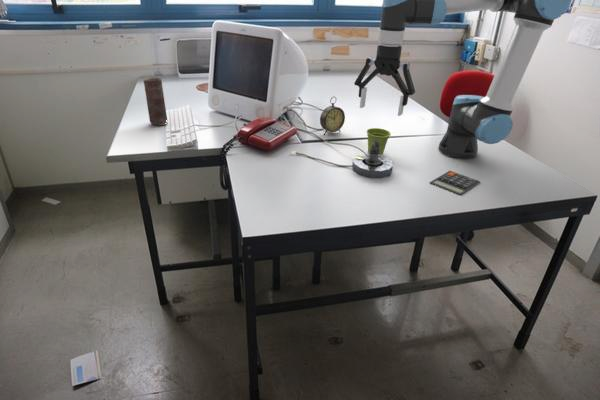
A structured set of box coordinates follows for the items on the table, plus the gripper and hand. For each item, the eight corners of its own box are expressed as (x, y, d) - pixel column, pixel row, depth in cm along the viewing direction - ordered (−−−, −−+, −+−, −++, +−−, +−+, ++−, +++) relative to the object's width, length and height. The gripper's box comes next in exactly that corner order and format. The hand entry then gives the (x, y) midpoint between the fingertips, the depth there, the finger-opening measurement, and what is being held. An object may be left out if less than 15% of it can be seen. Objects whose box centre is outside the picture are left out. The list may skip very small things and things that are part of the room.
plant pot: (390, 151, 165) (394, 131, 160) (382, 159, 158) (385, 138, 153) (369, 146, 169) (371, 126, 164) (360, 153, 162) (362, 133, 157)
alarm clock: (324, 136, 176) (327, 99, 168) (317, 132, 180) (319, 96, 172) (344, 132, 182) (347, 96, 174) (336, 129, 185) (340, 93, 177)
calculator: (480, 181, 144) (461, 194, 134) (480, 183, 144) (460, 196, 135) (450, 170, 151) (429, 181, 141) (449, 172, 151) (428, 184, 142)
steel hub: (396, 168, 151) (398, 160, 150) (382, 182, 141) (384, 173, 139) (361, 158, 157) (362, 151, 156) (346, 171, 147) (346, 163, 145)
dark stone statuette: (378, 166, 152) (383, 136, 146) (381, 173, 146) (386, 142, 141) (362, 166, 151) (366, 135, 145) (365, 173, 146) (369, 141, 140)
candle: (153, 127, 176) (147, 81, 166) (147, 123, 181) (140, 77, 171) (170, 124, 180) (165, 78, 171) (163, 120, 185) (158, 75, 175)
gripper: (433, 47, 125) (420, 115, 135) (358, 38, 136) (351, 101, 146) (425, 51, 119) (413, 121, 130) (348, 41, 130) (342, 106, 141)
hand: (380, 110), depth 138 cm, fingers open, 13 cm apart
